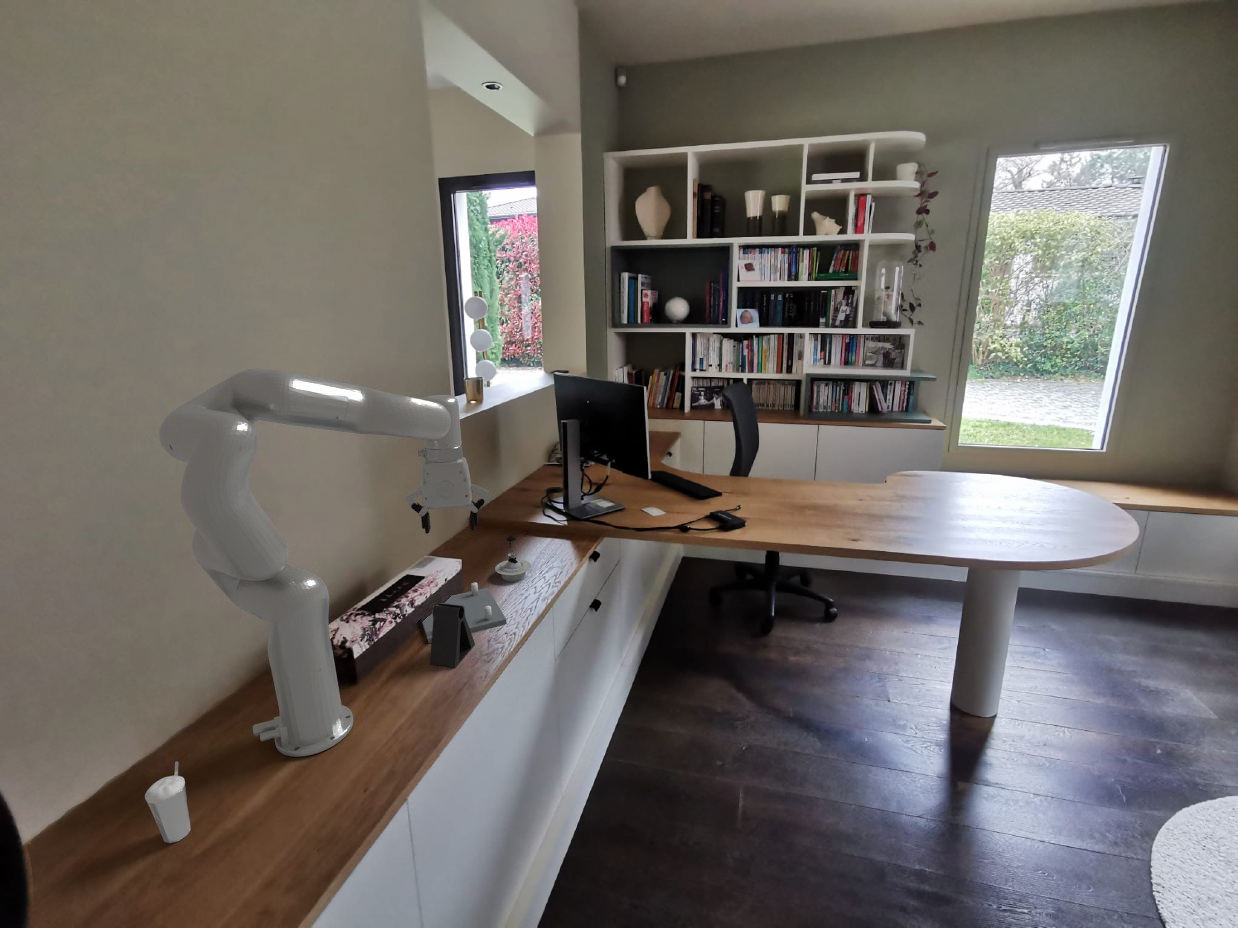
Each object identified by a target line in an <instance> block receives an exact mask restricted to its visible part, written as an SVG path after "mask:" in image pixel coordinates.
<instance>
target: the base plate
mask: <svg viewBox="0 0 1238 928" xmlns="http://www.w3.org/2000/svg"><path fill="white" fill-rule="evenodd" d="M478 586H479V585H478V582H472V583H471V584H470V588H471V591H467V592H463V593H457V594H454V595H450V596H451V597H450V598H449V599H448V600H447V601H446V602H445V603H444V604H452V605H461V606H464V609H465V618H466V620H467V623H468V626H469V628H470V631H471V634H472V633H475V632H479V631H483V630H487V629H491V628H495V627H499V626H503V625H506V624H507V622H508V621H507V618H506V616H505V614H504V613H503V611H502V609H501V608H500V606H499V604H498V603H497V602H496V600H495V598H494V597H493V595H492V593H491V592H490V590H489V588H488V587H485V588H480V589H479V587H478ZM420 622H421V625H422V627H423V630H424V633H425V636H426V639H427V642H428V644H431V641H432V630H433V614H431V615H430V616H428V617H427V618H426V619H425V620H424V621H423V622H422V621H421V620H420Z"/></svg>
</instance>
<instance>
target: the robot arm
mask: <svg viewBox="0 0 1238 928" xmlns="http://www.w3.org/2000/svg"><path fill="white" fill-rule="evenodd" d="M459 408H460V407H459V401H458V399H457V397H456V396H454V395H450V394H433V395H428V396H424V397H423V398H417V397H412V396H406V395H401V394H398V393H397V394H396V393H391V392H387V391H382V390H378V389H374V388H371V387H366V386H361V385H357V384H352V383H347V382H341V381H338V380H332V379H327V378H322V377H317V376H313V375H308V374H305V373H304V374H303V373H298V372H294V371H289V370H282V369H267V368H247V369H245V370H241V371H239V372H237V373H235V374H233V375H231V376H229V377H227V378H226V379H224V380H221V381H220V382H219V383H217V384H216V385H214V386H212V387H210V388H209V389H207V390H205V391H204V392H202V393H200V394H198V395H197V396H196V397H194V398H192V399H190V400H187V402H185V403H183V404H182V405H180V406H177V408H176V409H174V410H172V411H171V412H170V413H168V415H167V416H166V417H165V418H164V419H163V421H162V423H161V424H160V427H159V432H158V438H159V441H160V445H161V447H162V448H163V450H164V451H165V452H166V453H167V454H168V455H169V456H170V457H173V458H174V459H176V460H178V461H181V462H184V463H186V466H185V469H184V473H183V475H182V481H181V485H180V502H181V505H182V506H181V507H182V508H183V509H182V510H183V511H184V513H185V514H186V516H187V518H188V519H189V521H190V522H191V523H192V525H193V526H194V528H195V531H194V534H193V536H192V539H191V549H192V554H193V556H194V558H195V560H196V562H197V563H198V565H199V566H200V568H201V569H202V570H203V571H204V572H205V573H206V575H208V577H209V578H210V579H211V580H212V582H214V584H215V585H216V586H217V587H218V588H219V589H220V591H222V592H223V594H224V595H225V596H226V597H227V598H228V599H229V600H230V601H231V602H232V603H233V604H234V605H235V606H236V607H237V608H239V609H240V610H242V611H244V612H246V613H248V614H250V615H252V616H255V617H257V618H259V619H260V620H263V621H265V622H267V624H268V627H269V636H268V641H267V657H268V661H269V662H268V663H269V667H270V670H271V675H272V680H273V685H274V689H275V694H276V695H275V696H276V699H277V700H276V701H277V704H278V709H279V716H274V717H273V719H271V720H268V721H264V722H260V723H256V724H253V725H252V733H253V736H254V737H258V736H259V738H260V742H266V741H269V740H270V739H274V743H275V748H276V750H278V752H279V753H281V754H282V755H284V756H288V757H306V756H311V755H315V754H319V753H321V752H323V751H325V750H329V749H330V748H332V747H334V746H336V745H337V744H338V743H339V742H342V740H343V739H344V738H345V737H346V736H347V735H348V734H349V732H351V730H352V727H353V725H354V715H353V712H352V710H351V709H350V708H349V707H348V706H345V705H344V704H342V700H341V695H340V688H339V681H338V677H337V671H336V664H335V659H334V652H333V647H332V641H331V636H330V635H331V634H330V627H329V614H330V613H329V611H330V610H329V609H330V594H329V593H330V592H329V590H328V587H327V585H326V583H325V582H324V581H323V580H322V579H321V578H320V576H318V575H316V574H314V573H312V572H311V571H308V570H306V569H303V568H301V567H297V566H295V565H290V564H288V560H289V556H290V555H289V553H290V552H289V546H288V544H287V542H286V540H285V538H284V536H283V534H282V533H281V532H280V531H279V529H278V528H277V527H276V526H275V524H274V523H273V521H272V520H271V518H269V515H267V513H266V512H265V511H264V510H263V508H262V507H261V506H260V504H259V502H258V500H257V499H256V497H255V496H254V494H253V492H252V491H251V487H250V482H249V481H250V473H251V470H252V467H253V465H254V462H255V460H256V459H257V455H258V453H259V449H260V437H259V433H258V431H257V429H256V427H255V425H254V424H255V423H256V422H259V421H263V422H268V423H276V424H280V425H287V426H295V427H296V426H297V427H304V428H311V429H313V428H314V429H320V430H326V431H327V430H328V431H335V432H341V433H342V432H343V433H350V434H359V435H375V436H376V435H377V436H391V437H400V438H405V439H415V440H422V441H424V447H423V448H422V449H418V450H417V455H418V457H423V458H424V460H423V461H422V463H421V464H422V465H421V475H420V476H421V477H420V480H421V481H420V482H421V484H420V485H421V486H420V487H419V488H417V489H415V490H414V491H411V492H410V493H408V494H406V496H405V500H406V502H407V503H408V504H409V506H410V507H411V509H412V510H413V511H415V512H416V514H418V515H419V516H420V519H421V528H422V530H424V533H425V534H429V533H430V532H431V529H432V528H431V527H432V526H431V519H430V512H429V510H432V509H433V510H434V509H435V510H436V509H448V508H449V509H450V508H451V509H452V508H462V507H467V508H468V509H469V510H470V513H469V517H470V518H469V519H470V529H471V531H475V530H476V526H477V525H479V517H478V511H479V510H480V509H481V508H482V506H484V504H485V502H486V501H487V498H488V496H489V494H490V491H489V490H488V489H486V488H484V487H482V486H479V485H477V484H475V483H472V481H471V473H470V469H469V464H468V461H467V458H466V457H464V456H463V454H464V453H463V446H462V445H463V444H462V442H463V441H462V432H461V419H460V418H461V417H460V409H459ZM473 492H474V493H475V494H479V495H480V497H479V498H478V500H477V501H475V500H474V499H473ZM419 496H421V499H422V500H421V502H422V505H421V504H420V503H419V502H417V501H416V498H417V497H419Z"/></svg>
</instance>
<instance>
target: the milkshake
mask: <svg viewBox="0 0 1238 928" xmlns="http://www.w3.org/2000/svg"><path fill="white" fill-rule="evenodd" d="M186 789H187V787H186V782H185V778H184V777H183V776H181V775H179V761H175V762H174V775H170V776H165V777H162V778H160V779H159V780H157V781H155V782H154V783H152V785H151V786H150V787H149V788H148V789H147V791H146V792H145V794H144V799H145V801H146V803H147V805H148V807H149V809H150V812H151V813H152V816H153V818H154V821H155V823H156V825H157V827H158V829H159V832H160V835H161V837H162V840H163V841H164V843H167V844H172V843H173V844H174V843H177V842H179V841H181V840H183V839H184V838H185V837H187V836H188V834H189V833H190V832H191V828H192V827H191V821H190V816H189V815H190V814H189V809H188V808H189V807H188V801H187V799H188V798H187V790H186Z"/></svg>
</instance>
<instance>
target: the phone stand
mask: <svg viewBox="0 0 1238 928" xmlns="http://www.w3.org/2000/svg"><path fill="white" fill-rule="evenodd" d="M437 604H438V605H434V606H433V610H432V614H433V630H432V641H431V643H430V654H429V664H430V665H433V666H442V667H446V668H448V667H449V668H453V669H454V668H455V669H457V667H458V666H459V665H460V664H461V662H462V661H463V660H464V659H465V657H467V656H468V654H469V653H470V652H471V650H472V649H474V647H475V646H476V643H475V639H474V637H473V634H472V633H471V631H470V628H469V626H468V623H467V620H466V618H465V609H464V606H461V605H452V604H444V603H437Z"/></svg>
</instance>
